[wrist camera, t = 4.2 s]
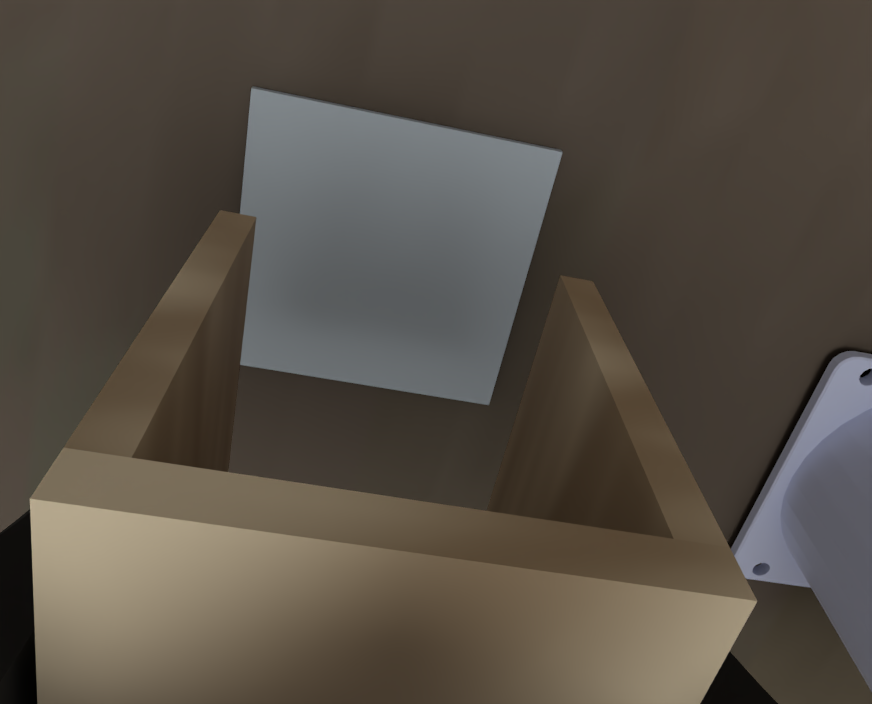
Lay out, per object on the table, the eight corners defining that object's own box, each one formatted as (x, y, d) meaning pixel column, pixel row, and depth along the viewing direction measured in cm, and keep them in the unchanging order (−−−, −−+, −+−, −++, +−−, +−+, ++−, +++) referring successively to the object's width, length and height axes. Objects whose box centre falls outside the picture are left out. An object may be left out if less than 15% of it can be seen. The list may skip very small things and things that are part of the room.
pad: (561, 150, 18) (562, 152, 18) (488, 400, 21) (488, 405, 21) (252, 86, 17) (251, 88, 17) (227, 358, 21) (226, 362, 20)
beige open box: (592, 281, 12) (756, 601, 6) (493, 579, 14) (544, 982, 9) (219, 210, 11) (30, 498, 5) (191, 537, 14) (46, 947, 8)
